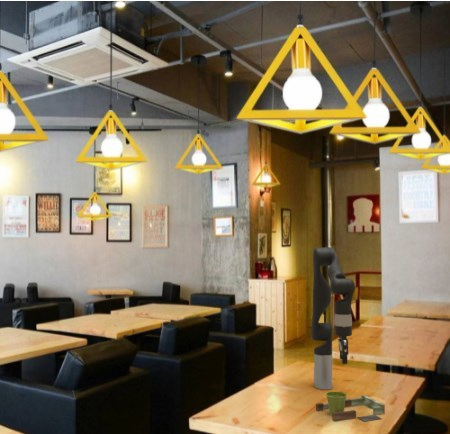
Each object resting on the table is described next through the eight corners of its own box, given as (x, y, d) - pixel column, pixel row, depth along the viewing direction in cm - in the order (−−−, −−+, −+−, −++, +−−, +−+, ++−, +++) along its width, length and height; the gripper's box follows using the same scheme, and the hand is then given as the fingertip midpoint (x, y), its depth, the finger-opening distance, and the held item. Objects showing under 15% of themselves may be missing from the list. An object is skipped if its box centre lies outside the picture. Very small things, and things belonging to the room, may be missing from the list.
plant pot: (321, 412, 233) (321, 392, 233) (339, 409, 236) (339, 390, 237) (333, 418, 224) (332, 398, 224) (351, 416, 228) (351, 396, 228)
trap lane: (310, 406, 240) (310, 398, 240) (357, 400, 249) (357, 391, 249) (340, 425, 216) (340, 415, 217) (392, 417, 226) (392, 408, 226)
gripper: (332, 321, 236) (333, 357, 236) (336, 326, 222) (336, 365, 221) (349, 321, 235) (350, 357, 235) (354, 327, 221) (354, 365, 221)
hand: (343, 361), depth 228 cm, fingers open, 8 cm apart
